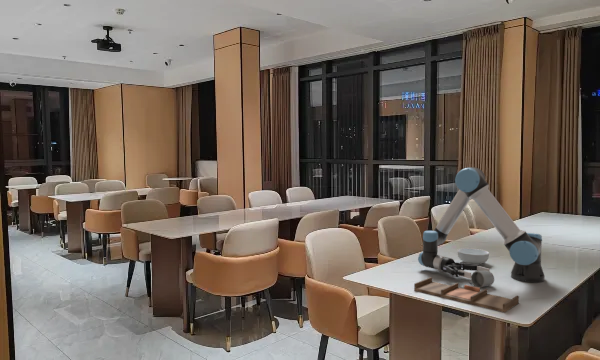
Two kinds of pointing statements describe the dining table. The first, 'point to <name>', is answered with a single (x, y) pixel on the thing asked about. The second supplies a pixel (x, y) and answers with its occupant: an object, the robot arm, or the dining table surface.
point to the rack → (466, 295)
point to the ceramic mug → (482, 278)
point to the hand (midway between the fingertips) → (480, 273)
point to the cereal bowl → (473, 255)
